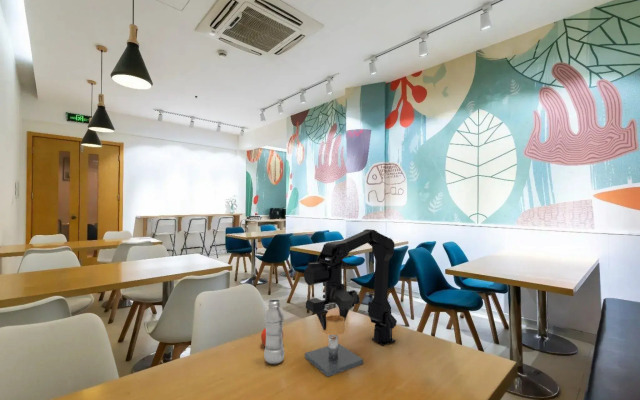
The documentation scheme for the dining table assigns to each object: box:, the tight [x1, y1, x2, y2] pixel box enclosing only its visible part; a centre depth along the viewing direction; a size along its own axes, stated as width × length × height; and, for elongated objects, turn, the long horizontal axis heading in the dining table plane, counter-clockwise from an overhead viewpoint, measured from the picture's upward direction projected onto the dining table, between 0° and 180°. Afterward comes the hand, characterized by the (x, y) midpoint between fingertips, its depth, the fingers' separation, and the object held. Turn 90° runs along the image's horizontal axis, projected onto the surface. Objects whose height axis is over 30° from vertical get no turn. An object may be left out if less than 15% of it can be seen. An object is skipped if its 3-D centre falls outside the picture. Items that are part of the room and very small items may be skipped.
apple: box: [260, 328, 284, 346], centre depth 110 cm, size 8×8×8 cm
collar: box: [322, 314, 346, 336], centre depth 99 cm, size 7×7×4 cm
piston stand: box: [304, 334, 364, 378], centre depth 99 cm, size 14×14×8 cm
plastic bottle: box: [263, 298, 285, 365], centre depth 98 cm, size 6×7×20 cm
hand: (333, 327), depth 99 cm, fingers closed on collar, 7 cm apart
